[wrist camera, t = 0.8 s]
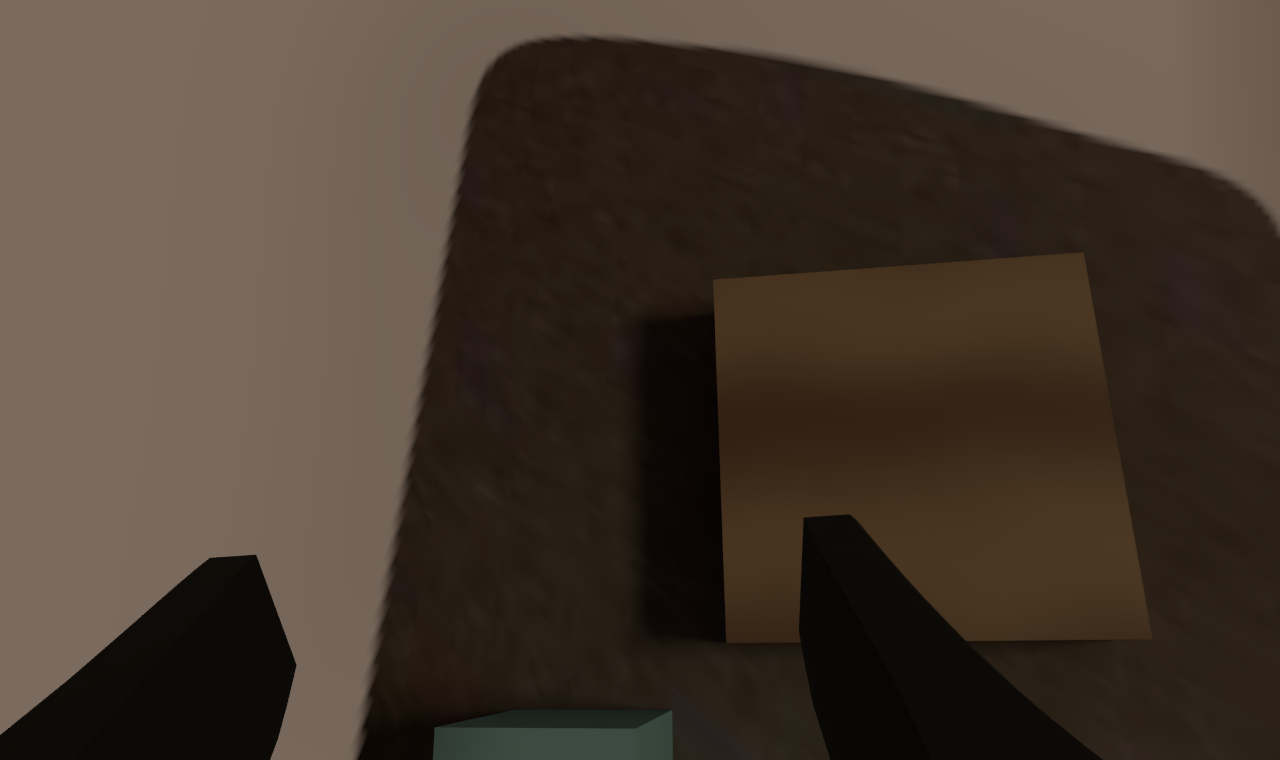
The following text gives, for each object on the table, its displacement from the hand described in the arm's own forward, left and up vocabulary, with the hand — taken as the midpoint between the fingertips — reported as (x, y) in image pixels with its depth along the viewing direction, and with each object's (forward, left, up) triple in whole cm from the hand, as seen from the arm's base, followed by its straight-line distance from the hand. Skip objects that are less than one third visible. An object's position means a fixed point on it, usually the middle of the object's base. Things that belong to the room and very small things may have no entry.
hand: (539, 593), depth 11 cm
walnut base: (+4, -7, -14) cm, 16 cm away
